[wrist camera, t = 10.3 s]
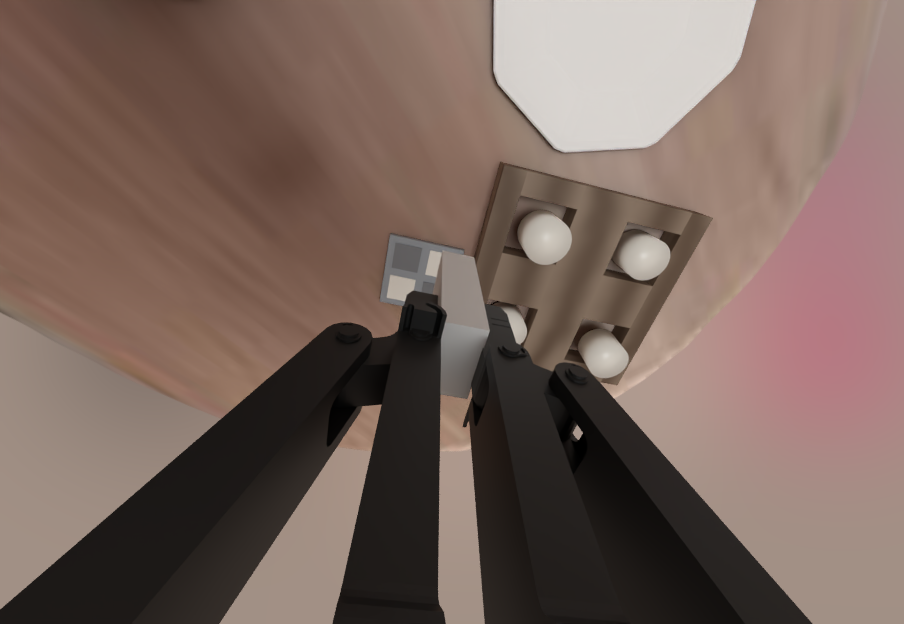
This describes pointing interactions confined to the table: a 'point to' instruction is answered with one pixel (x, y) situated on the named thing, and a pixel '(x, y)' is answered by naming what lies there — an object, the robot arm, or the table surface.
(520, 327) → the button
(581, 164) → the table surface
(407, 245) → the card
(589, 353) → the button
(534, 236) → the button
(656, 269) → the button
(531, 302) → the board
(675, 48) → the plate
